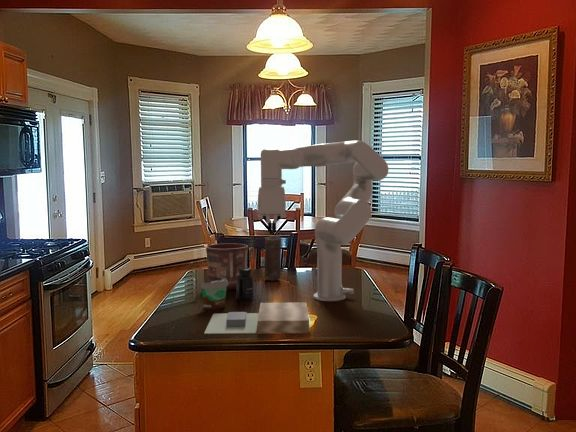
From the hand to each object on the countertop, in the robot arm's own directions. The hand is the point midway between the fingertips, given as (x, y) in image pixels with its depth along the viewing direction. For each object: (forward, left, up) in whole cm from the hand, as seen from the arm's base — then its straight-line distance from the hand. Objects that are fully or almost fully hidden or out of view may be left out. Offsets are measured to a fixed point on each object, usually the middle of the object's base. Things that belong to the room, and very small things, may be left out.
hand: (271, 233), depth 193 cm
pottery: (+20, -33, -27) cm, 47 cm away
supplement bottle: (+11, -12, -27) cm, 32 cm away
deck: (-4, +21, -27) cm, 35 cm away
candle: (+1, -45, -27) cm, 53 cm away
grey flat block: (+11, +22, -24) cm, 35 cm away
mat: (+12, +21, -27) cm, 36 cm away
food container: (+20, 0, -27) cm, 34 cm away
